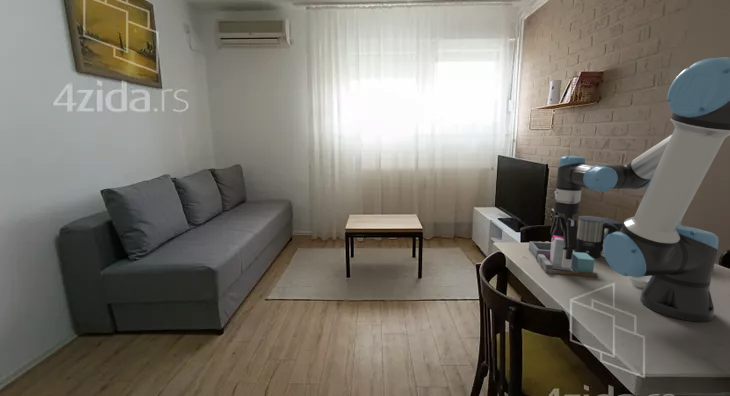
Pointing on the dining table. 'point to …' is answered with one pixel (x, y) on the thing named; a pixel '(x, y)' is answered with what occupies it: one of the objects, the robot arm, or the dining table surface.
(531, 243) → the tray
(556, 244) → the supplement box
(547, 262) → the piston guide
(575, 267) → the block
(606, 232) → the small box
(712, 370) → the dining table surface
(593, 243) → the milk frother
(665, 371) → the dining table surface
